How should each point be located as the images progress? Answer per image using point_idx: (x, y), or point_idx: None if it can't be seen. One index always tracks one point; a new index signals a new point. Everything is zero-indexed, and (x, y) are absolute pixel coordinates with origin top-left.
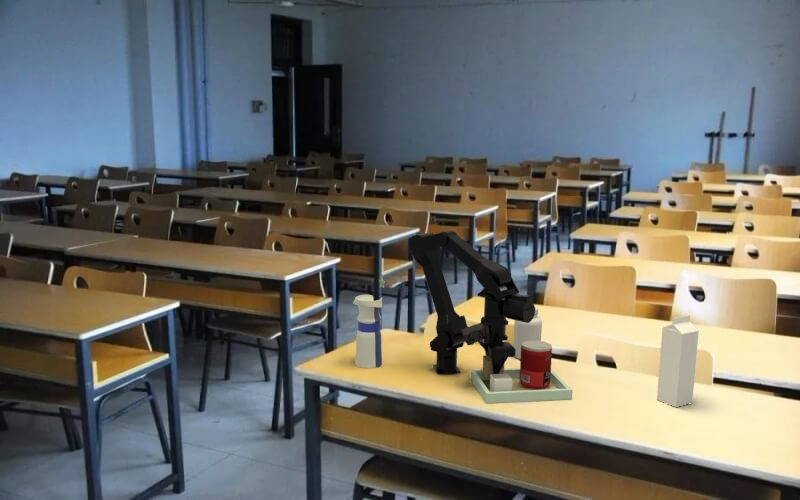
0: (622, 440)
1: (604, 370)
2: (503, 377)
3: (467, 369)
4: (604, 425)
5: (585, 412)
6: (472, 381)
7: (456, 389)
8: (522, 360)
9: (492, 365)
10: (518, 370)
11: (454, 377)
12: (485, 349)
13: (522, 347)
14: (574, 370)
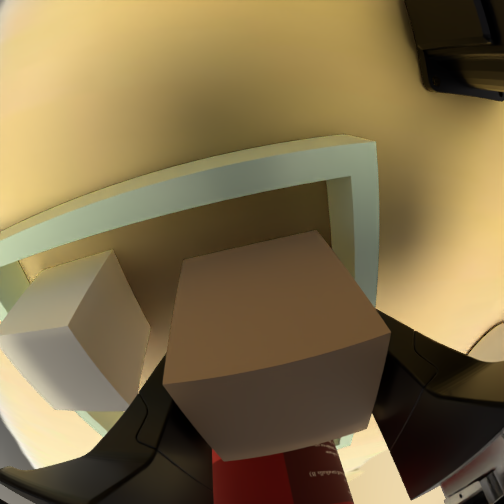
0: (16, 439)
1: (349, 466)
2: (57, 385)
3: (467, 146)
4: (49, 445)
5: (87, 447)
6: (285, 142)
7: (134, 39)
8: (253, 488)
9: (157, 385)
10: None
11: (364, 39)
12: (438, 399)
13: None
14: (364, 443)
